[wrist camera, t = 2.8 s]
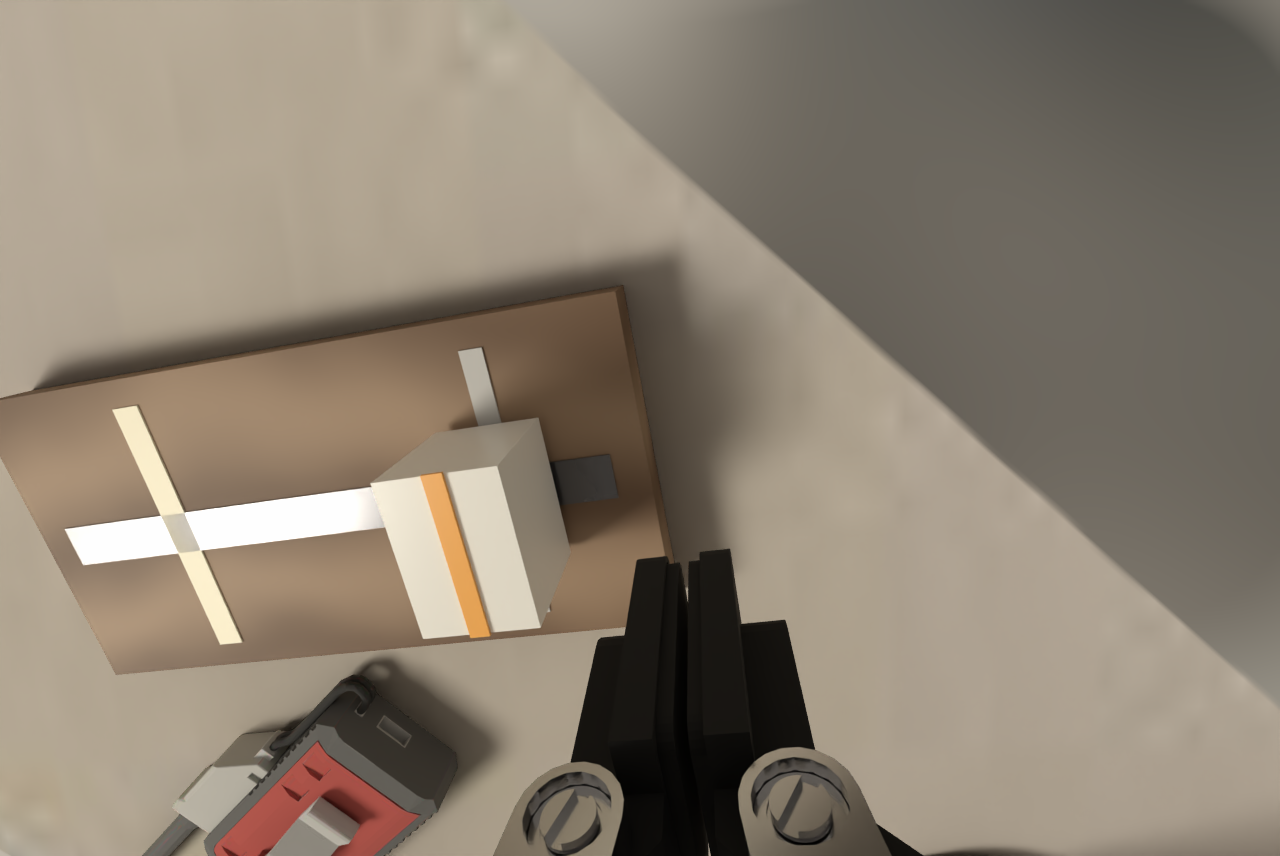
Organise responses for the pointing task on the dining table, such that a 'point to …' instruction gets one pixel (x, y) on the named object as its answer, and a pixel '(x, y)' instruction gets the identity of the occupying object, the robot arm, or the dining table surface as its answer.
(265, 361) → the brown board with strips
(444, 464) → the fader
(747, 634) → the robot arm
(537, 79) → the dining table surface
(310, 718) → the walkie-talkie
